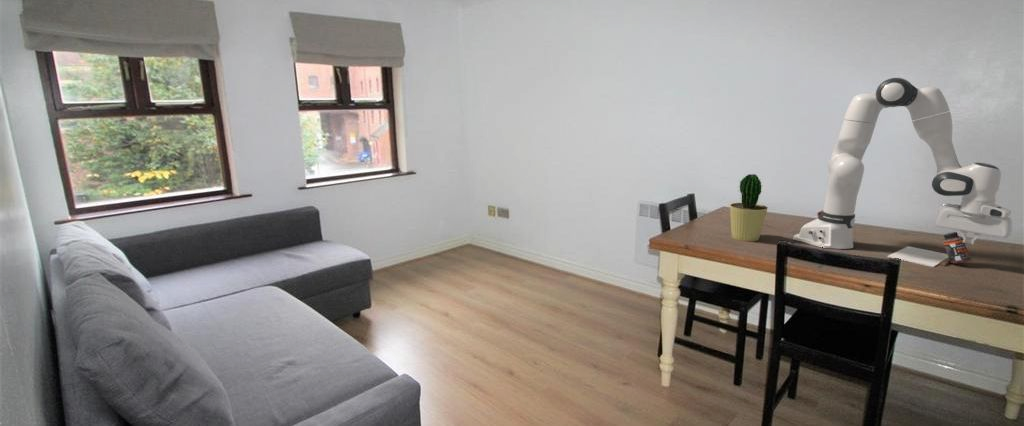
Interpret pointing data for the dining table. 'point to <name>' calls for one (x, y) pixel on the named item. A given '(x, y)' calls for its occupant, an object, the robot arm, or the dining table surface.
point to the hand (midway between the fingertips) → (968, 243)
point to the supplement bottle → (956, 248)
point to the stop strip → (945, 262)
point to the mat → (919, 256)
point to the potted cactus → (748, 211)
